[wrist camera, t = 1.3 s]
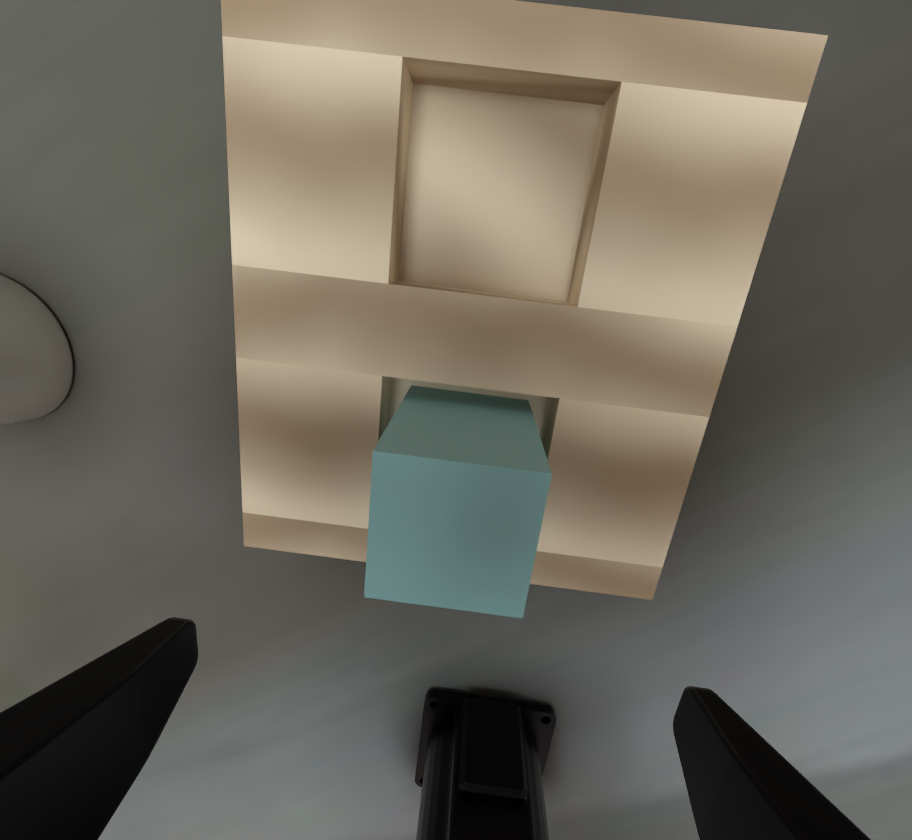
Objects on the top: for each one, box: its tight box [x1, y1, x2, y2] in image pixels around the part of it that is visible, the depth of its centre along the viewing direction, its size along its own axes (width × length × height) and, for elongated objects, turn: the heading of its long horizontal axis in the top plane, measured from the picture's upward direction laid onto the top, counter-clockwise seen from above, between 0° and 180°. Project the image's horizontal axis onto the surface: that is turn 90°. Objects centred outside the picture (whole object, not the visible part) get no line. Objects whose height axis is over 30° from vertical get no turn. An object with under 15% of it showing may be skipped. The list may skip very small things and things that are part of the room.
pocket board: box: [221, 0, 828, 600], centre depth 16 cm, size 18×16×2 cm
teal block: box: [364, 385, 552, 618], centre depth 15 cm, size 4×4×6 cm
